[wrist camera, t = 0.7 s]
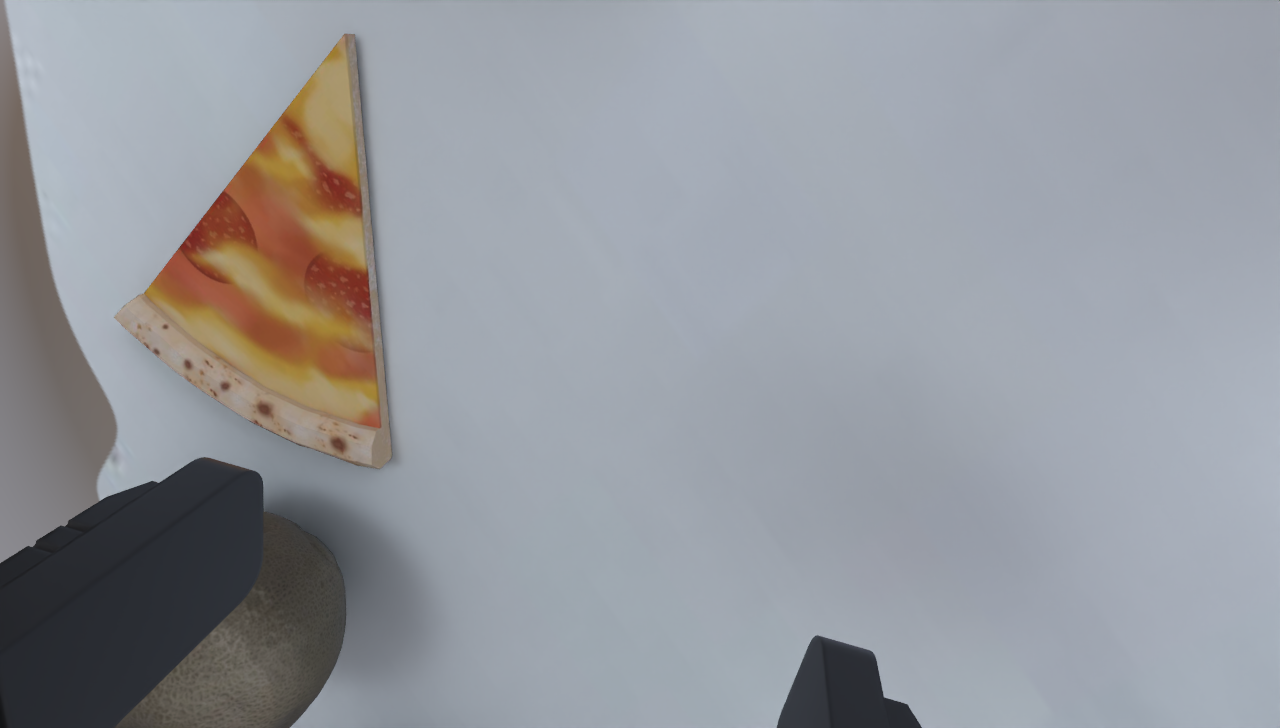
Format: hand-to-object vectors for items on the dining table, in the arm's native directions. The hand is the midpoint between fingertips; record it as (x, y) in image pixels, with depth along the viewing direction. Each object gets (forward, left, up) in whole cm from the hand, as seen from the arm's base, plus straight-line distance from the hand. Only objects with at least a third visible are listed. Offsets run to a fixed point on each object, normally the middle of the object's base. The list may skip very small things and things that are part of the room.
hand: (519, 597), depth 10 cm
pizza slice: (+20, +4, -24) cm, 32 cm away
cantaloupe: (+27, +20, -24) cm, 41 cm away
